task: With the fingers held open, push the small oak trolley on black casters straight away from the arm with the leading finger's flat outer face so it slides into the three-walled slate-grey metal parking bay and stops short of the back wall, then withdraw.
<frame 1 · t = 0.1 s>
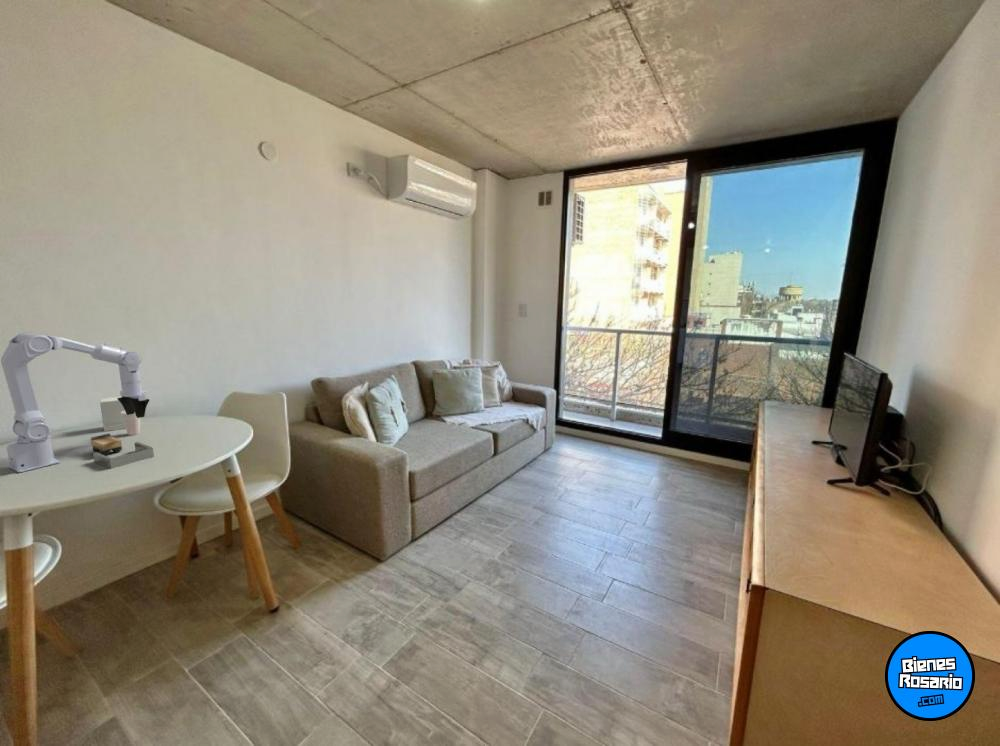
hand: (135, 415, 158), 10 cm above the table, fingers open, 7 cm apart
dock: (124, 458, 142), on the table
smoothie: (134, 434, 166), on the table
supplement box: (115, 428, 173), on the table
trolley: (107, 452, 147), on the table
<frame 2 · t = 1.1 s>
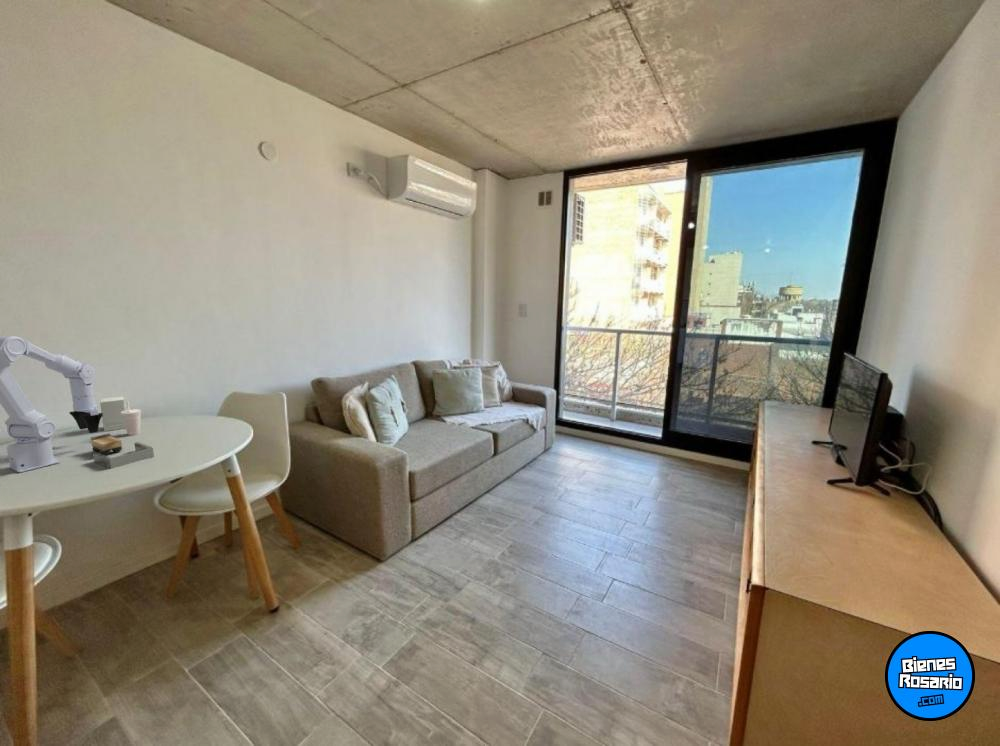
hand: (88, 430, 152), 6 cm above the table, fingers open, 7 cm apart
nothing on the table moved.
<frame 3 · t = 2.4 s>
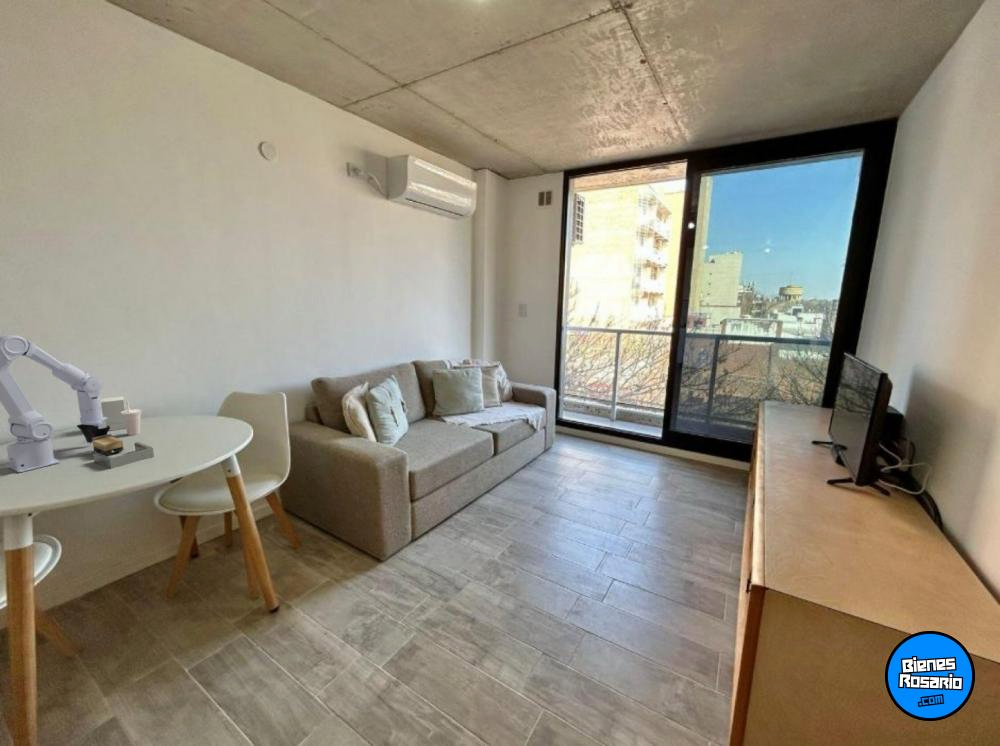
hand: (96, 443, 151), 2 cm above the table, fingers open, 7 cm apart
trolley: (109, 452, 147), on the table, touching gripper
everything else where it was.
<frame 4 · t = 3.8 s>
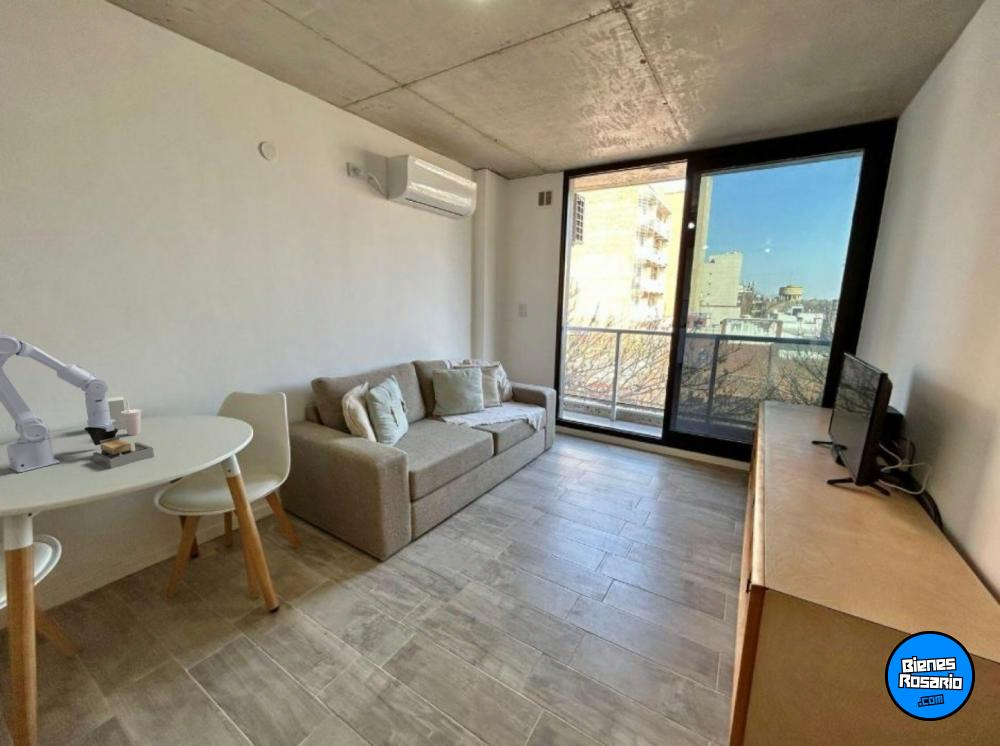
hand: (103, 446, 148), 2 cm above the table, fingers open, 7 cm apart
trolley: (117, 455, 145), on the table, touching gripper
everything else where it was.
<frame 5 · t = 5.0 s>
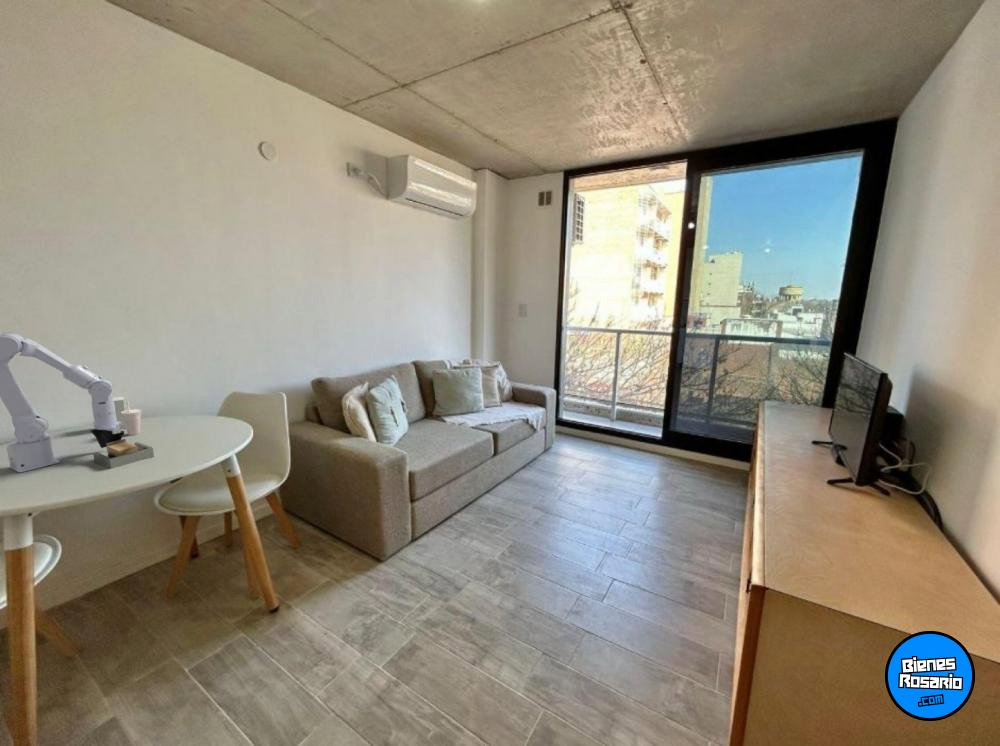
hand: (109, 448, 146), 2 cm above the table, fingers open, 7 cm apart
trolley: (123, 458, 143), on the table, touching gripper
everything else where it was.
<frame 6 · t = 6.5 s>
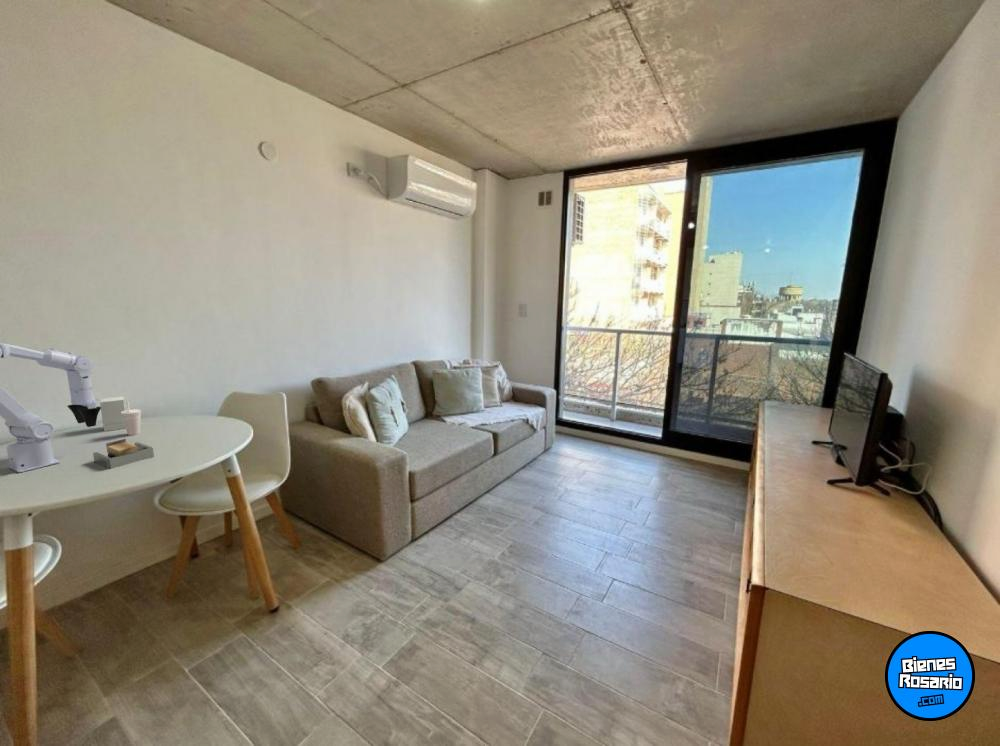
hand: (86, 424, 148), 9 cm above the table, fingers open, 7 cm apart
trolley: (123, 458, 143), on the table
everything else where it was.
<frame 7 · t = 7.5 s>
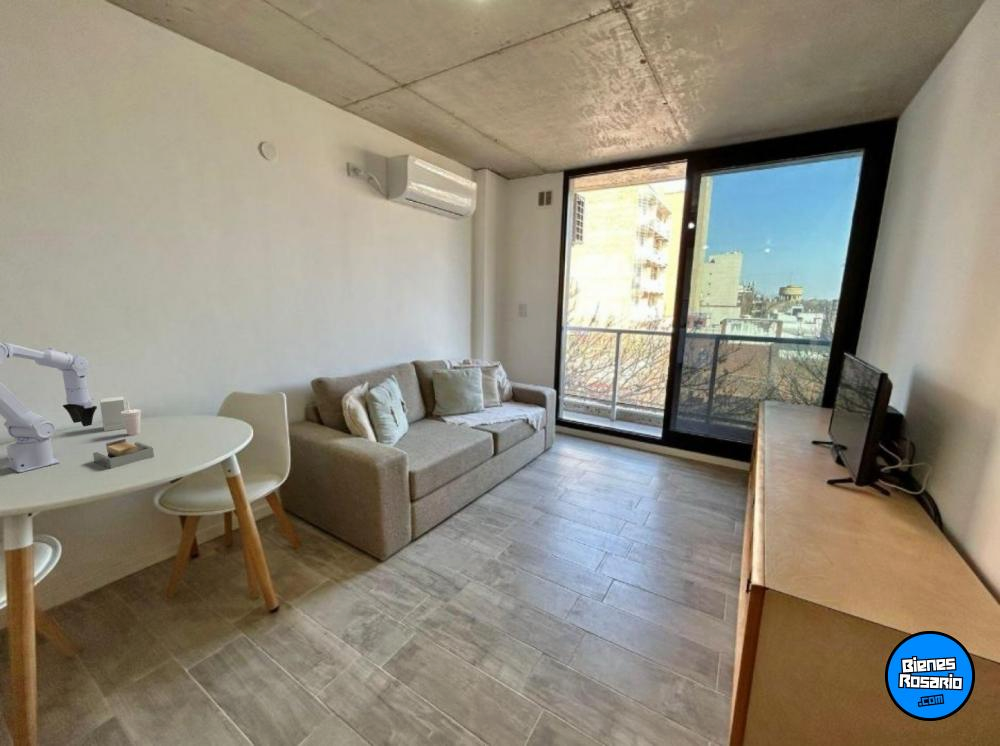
hand: (82, 423, 149), 9 cm above the table, fingers open, 7 cm apart
nothing on the table moved.
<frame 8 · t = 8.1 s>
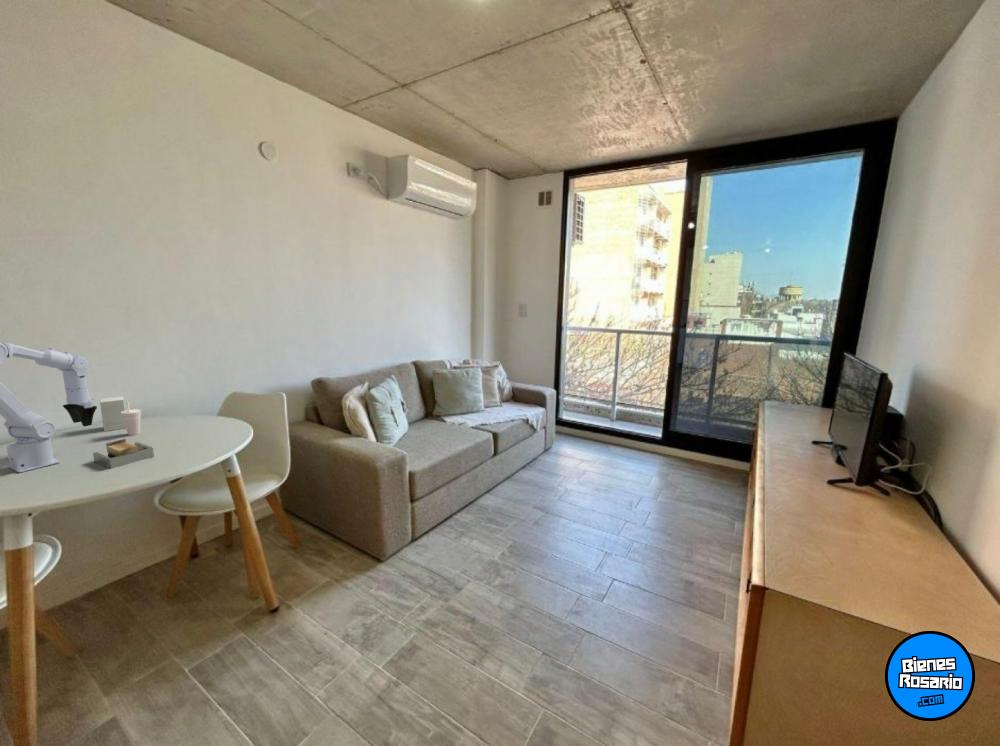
hand: (82, 423, 149), 9 cm above the table, fingers open, 7 cm apart
nothing on the table moved.
at the end: trolley inside the target area (0.4 cm from its centre), on the table; trolley tilted 0° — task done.
